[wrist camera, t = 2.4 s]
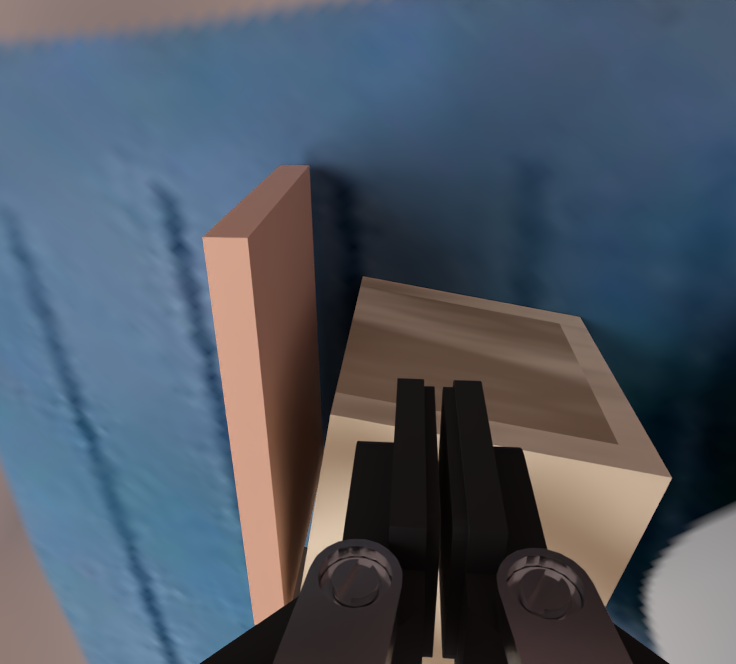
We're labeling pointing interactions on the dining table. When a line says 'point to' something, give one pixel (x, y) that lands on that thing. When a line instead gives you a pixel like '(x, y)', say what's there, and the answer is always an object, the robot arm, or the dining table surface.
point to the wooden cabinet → (499, 418)
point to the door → (270, 374)
